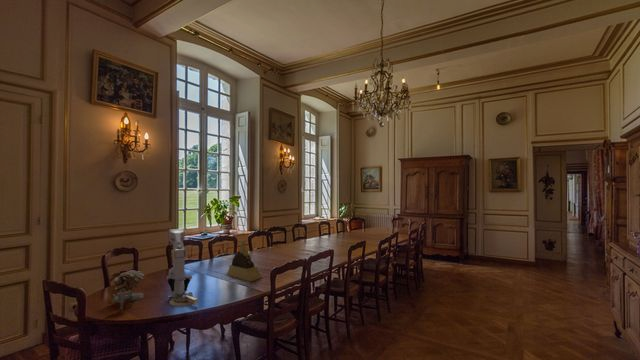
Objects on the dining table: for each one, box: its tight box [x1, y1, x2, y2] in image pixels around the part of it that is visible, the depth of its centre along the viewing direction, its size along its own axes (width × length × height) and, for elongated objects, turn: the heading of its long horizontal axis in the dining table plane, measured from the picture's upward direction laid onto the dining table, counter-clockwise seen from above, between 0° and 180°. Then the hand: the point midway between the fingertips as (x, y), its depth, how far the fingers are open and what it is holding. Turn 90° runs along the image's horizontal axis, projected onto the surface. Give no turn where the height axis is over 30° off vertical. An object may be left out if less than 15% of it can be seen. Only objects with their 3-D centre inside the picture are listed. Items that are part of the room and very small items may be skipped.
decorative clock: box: [226, 239, 263, 282], centre depth 262 cm, size 28×13×30 cm, turn 53°
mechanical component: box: [111, 290, 133, 311], centre depth 191 cm, size 3×10×10 cm, turn 134°
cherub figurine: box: [109, 269, 146, 304], centre depth 212 cm, size 18×18×18 cm
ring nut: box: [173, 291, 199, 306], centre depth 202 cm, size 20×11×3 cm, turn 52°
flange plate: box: [169, 295, 198, 307], centre depth 205 cm, size 16×16×1 cm
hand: (179, 291), depth 196 cm, fingers open, 7 cm apart
